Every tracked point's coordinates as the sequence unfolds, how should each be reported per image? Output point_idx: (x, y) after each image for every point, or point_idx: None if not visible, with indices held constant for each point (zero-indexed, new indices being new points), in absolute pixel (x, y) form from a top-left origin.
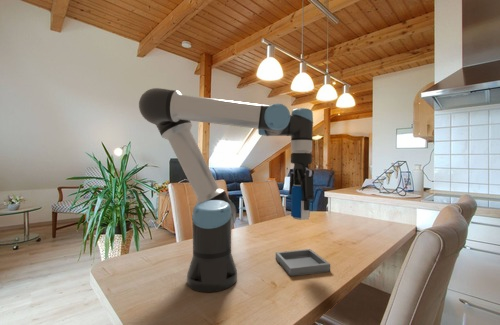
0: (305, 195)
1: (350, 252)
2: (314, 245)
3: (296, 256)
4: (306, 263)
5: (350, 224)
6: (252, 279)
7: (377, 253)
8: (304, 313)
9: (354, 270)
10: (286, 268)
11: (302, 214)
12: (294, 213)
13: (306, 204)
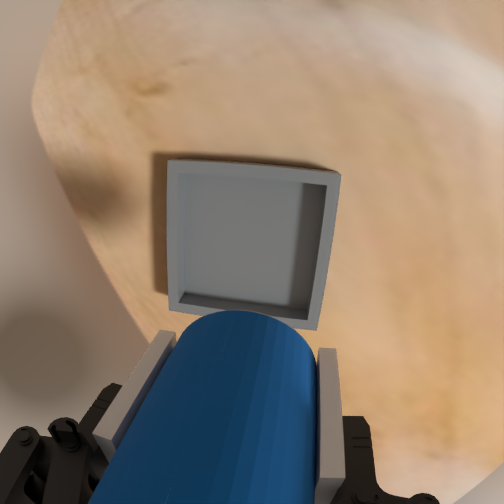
0: (25, 458)
1: None
2: (387, 376)
3: (314, 259)
4: (240, 259)
5: (439, 501)
6: (199, 32)
7: None
8: (38, 126)
9: None
10: (210, 160)
11: (144, 355)
12: (203, 330)
13: (86, 419)
